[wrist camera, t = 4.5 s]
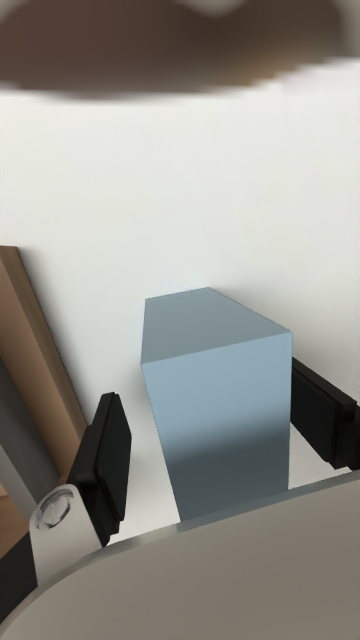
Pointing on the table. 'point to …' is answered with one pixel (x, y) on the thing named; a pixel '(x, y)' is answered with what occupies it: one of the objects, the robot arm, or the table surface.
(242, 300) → the table surface
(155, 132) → the table surface
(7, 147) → the table surface
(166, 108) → the table surface
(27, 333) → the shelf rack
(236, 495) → the light blue rectangular block
